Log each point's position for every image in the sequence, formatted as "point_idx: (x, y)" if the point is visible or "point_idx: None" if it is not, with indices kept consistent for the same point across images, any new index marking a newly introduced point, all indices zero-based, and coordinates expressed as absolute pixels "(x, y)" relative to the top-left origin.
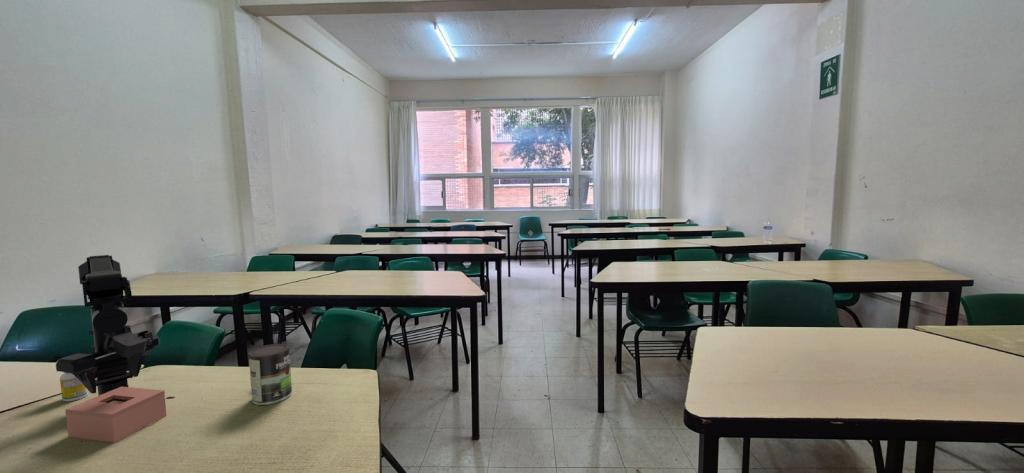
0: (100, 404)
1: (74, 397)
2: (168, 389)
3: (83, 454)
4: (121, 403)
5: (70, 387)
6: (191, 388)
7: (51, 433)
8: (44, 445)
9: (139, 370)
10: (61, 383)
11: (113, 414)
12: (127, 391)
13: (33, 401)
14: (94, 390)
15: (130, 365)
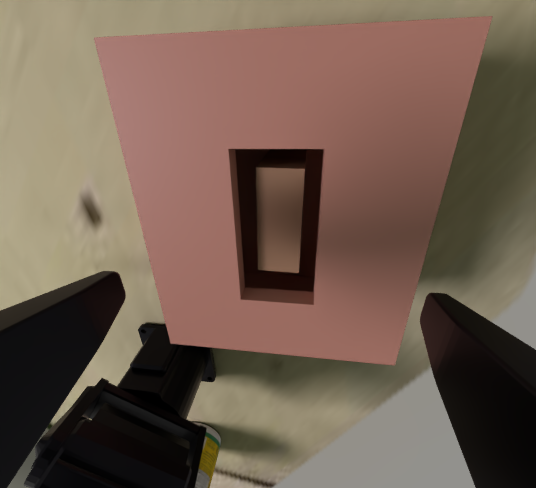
0: (340, 263)
1: (208, 434)
2: (69, 273)
3: (503, 94)
4: (277, 200)
5: (202, 470)
6: (19, 202)
7: None
8: (418, 301)
9: (55, 290)
10: None
11: (474, 19)
12: (193, 273)
13: (238, 478)
14: (456, 307)
15: (58, 397)
